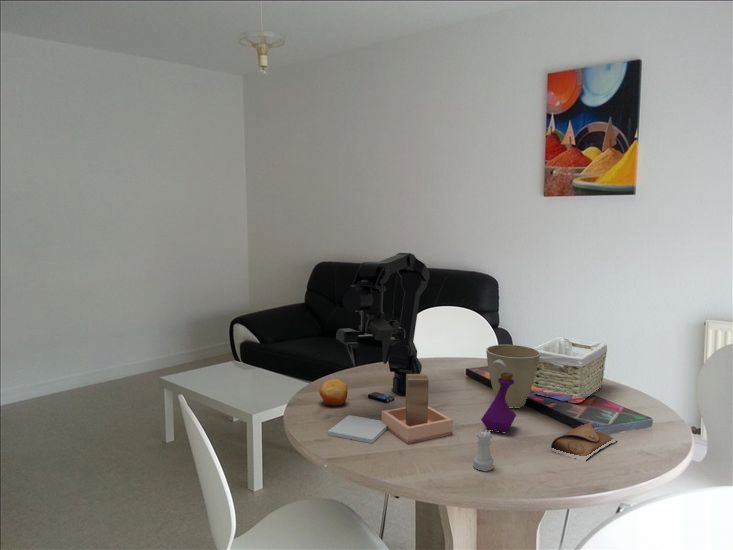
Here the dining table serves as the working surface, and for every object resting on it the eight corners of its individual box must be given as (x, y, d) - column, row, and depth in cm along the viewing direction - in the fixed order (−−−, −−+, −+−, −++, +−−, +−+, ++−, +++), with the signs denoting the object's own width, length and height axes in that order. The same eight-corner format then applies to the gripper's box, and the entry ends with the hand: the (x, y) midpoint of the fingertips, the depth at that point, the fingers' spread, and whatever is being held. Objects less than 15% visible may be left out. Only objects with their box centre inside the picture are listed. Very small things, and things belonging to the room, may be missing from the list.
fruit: (350, 392, 163) (348, 374, 158) (347, 414, 156) (345, 395, 151) (323, 391, 163) (320, 373, 158) (319, 413, 157) (316, 394, 152)
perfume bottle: (516, 426, 141) (518, 358, 139) (510, 437, 134) (513, 366, 132) (487, 422, 144) (489, 355, 142) (480, 432, 137) (482, 362, 135)
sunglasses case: (586, 463, 120) (572, 433, 122) (559, 469, 125) (546, 441, 127) (619, 440, 132) (606, 414, 134) (594, 447, 137) (582, 421, 139)
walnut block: (405, 423, 141) (406, 374, 139) (424, 423, 141) (425, 374, 139) (407, 430, 136) (408, 379, 134) (427, 430, 136) (428, 379, 134)
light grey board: (348, 418, 146) (348, 415, 146) (390, 425, 141) (390, 422, 141) (327, 434, 135) (327, 431, 135) (372, 443, 130) (372, 439, 130)
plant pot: (480, 409, 153) (481, 354, 152) (489, 393, 167) (490, 342, 165) (535, 417, 148) (538, 359, 146) (540, 400, 161) (542, 347, 160)
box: (423, 417, 147) (424, 403, 147) (452, 434, 136) (452, 419, 135) (381, 425, 141) (381, 411, 141) (407, 444, 130) (407, 428, 129)
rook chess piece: (470, 463, 120) (471, 428, 119) (490, 462, 120) (491, 427, 120) (476, 472, 116) (477, 436, 115) (496, 471, 116) (498, 435, 115)
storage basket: (579, 408, 155) (582, 357, 154) (526, 395, 166) (528, 348, 164) (607, 388, 173) (609, 342, 172) (557, 378, 184) (559, 335, 182)
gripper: (354, 314, 137) (352, 375, 138) (417, 311, 145) (414, 368, 146) (335, 308, 147) (334, 365, 148) (395, 305, 155) (393, 359, 156)
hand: (370, 364), depth 149 cm, fingers open, 9 cm apart
